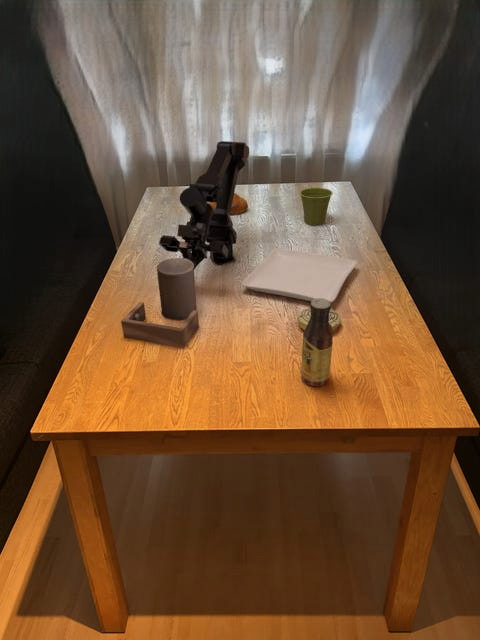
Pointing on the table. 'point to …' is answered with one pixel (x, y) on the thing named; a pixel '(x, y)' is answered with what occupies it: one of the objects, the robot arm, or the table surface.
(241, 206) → the croissant
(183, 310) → the pillar candle
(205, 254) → the robot arm
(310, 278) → the square plate
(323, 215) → the plant pot
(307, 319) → the decorated donut
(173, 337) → the holder
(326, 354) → the sauce bottle
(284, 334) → the table surface
